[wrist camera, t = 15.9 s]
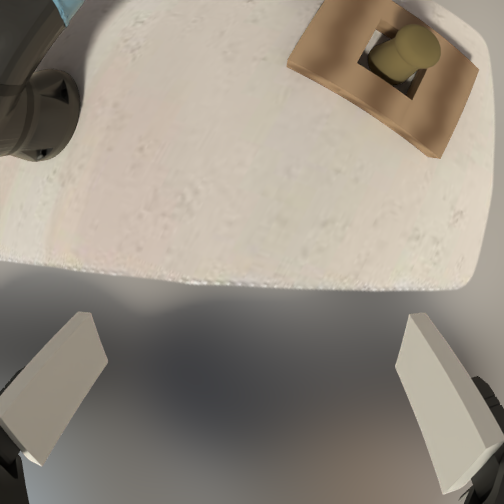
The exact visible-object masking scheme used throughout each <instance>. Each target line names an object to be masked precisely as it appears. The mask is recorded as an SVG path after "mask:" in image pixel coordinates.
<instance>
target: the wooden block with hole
mask: <svg viewBox="0 0 504 504" xmlns="http://www.w3.org/2000/svg"><path fill="white" fill-rule="evenodd" d="M409 24H417V25H420V26H423V27H425V28H427V29H428V30H430V31H431V32H432V33H433V34H434V35H435V36H436V38H437V39H438V41H439V44H440V47H441V56H440V59H439V61H438V62H437V63H436V64H435V65H434V66H432V67H430V68H427V69H420V68H419V69H418V71H417V73H416V75H415V77H414V79H413V81H412V83H411V85H410V87H409V89H408V91H407V93H406V95H404V94H403V93H401V92H400V91H399V90H397V89H396V88H394V87H393V86H392V85H390V84H389V83H387V82H386V81H384V80H383V79H381V78H380V77H378V76H377V75H375V74H374V73H372V72H371V71H369V70H367V69H366V68H364V67H363V66H361V65H359V64H358V63H357V62H358V60H359V58H360V56H361V54H362V53H363V51H364V49H365V47H366V45H367V44H368V42H369V40H370V38H371V37H372V35H373V33H374V31H375V29H376V30H378V31H379V32H381V33H383V34H384V35H386V36H387V37H389V38H390V39H393V38H395V37H396V34H397V32H398V31H399V30H400V29H401V28H402V27H403V26H406V25H409ZM287 67H288V68H290V69H292V70H294V71H296V72H298V73H300V74H302V75H304V76H306V77H308V78H309V79H311V80H313V81H315V82H317V83H319V84H321V85H322V86H324V87H326V88H328V89H330V90H331V91H333V92H335V93H337V94H338V95H340V96H342V97H343V98H345V99H347V100H348V101H350V102H352V103H353V104H355V105H356V106H358V107H359V108H361V109H363V110H364V111H366V112H367V113H369V114H370V115H372V116H373V117H375V118H376V119H378V120H379V121H381V122H382V123H384V124H385V125H386V126H388V127H389V128H391V129H392V130H394V131H395V132H396V133H398V134H399V135H400V136H402V137H403V138H404V139H406V140H407V141H408V142H410V143H411V144H412V145H414V146H415V147H416V148H417V149H419V150H420V151H421V152H422V153H424V154H425V155H426V156H427V157H432V158H439V159H440V158H441V156H442V154H443V152H444V150H445V148H446V146H447V144H448V142H449V140H450V138H451V136H452V134H453V131H454V129H455V127H456V125H457V123H458V120H459V118H460V116H461V114H462V111H463V109H464V107H465V104H466V102H467V100H468V97H469V95H470V92H471V90H472V87H473V84H474V82H475V79H476V77H477V74H478V71H479V69H478V68H477V67H476V66H475V65H474V64H473V63H472V62H471V61H470V60H469V59H468V58H466V57H465V56H464V55H463V54H462V53H461V52H460V51H459V50H458V49H456V48H455V47H454V46H453V45H452V44H451V43H449V42H448V41H447V40H446V39H445V38H443V37H442V36H441V35H440V34H438V33H437V32H436V31H435V30H433V29H432V28H431V27H429V26H428V25H427V24H425V23H424V22H423V21H421V20H420V19H418V18H417V17H416V16H414V15H413V14H411V13H410V12H408V11H407V10H405V9H404V8H402V7H401V6H399V5H398V4H396V3H395V2H393V1H391V0H325V1H324V2H323V4H322V5H321V7H320V8H319V10H318V11H317V13H316V15H315V16H314V18H313V19H312V21H311V22H310V24H309V26H308V27H307V29H306V30H305V32H304V34H303V35H302V37H301V38H300V40H299V42H298V43H297V45H296V47H295V48H294V50H293V51H292V53H291V55H290V56H289V58H288V61H287Z"/></svg>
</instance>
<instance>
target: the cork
mask: <svg viewBox="0 0 504 504" xmlns="http://www.w3.org/2000/svg"><path fill="white" fill-rule="evenodd" d="M440 56H441V47H440V44H439V41H438V39H437V38H436V36H435V35H434V34H433V33H432V32H431V31H430V30H428V29H427V28H425V27H423V26H420V25H417V24H409V25H406V26H403V27H402V28H401V29H400V30H399V31H398V32H397V34H396V37H395V38H393V39H391V40H389V41H387V42H384V43H382V44H380V45H378V46H375V47H374V48H373V49H372V50H371V51H370V53H369V55H368V64H369V68H370V70H371V71H372V73H374V74H375V75H377V76H378V77H380V78H381V79H383V80H384V81H386V82H387V83H389V84H390V85H399V84H401V83H403V82H404V81H406V80H407V79H408V78H409V77H410V76H411V75H412V74H414V73H415V72H416V71H417V70H418V69H419V68H420V69H427V68H430V67H432V66H434V65H435V64H436V63H437V62H438V61H439V59H440Z"/></svg>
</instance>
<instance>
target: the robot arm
mask: <svg viewBox="0 0 504 504" xmlns="http://www.w3.org/2000/svg"><path fill="white" fill-rule="evenodd" d="M84 1H85V0H0V157H1V156H7V155H11V156H14V157H18V158H21V159H24V160H27V161H32V162H38V161H44V160H48V159H51V158H53V157H55V156H56V155H58V154H59V153H60V152H61V151H62V150H63V149H64V148H65V146H66V145H67V144H68V142H69V140H70V139H71V137H72V135H73V133H74V130H75V127H76V124H77V121H78V116H79V107H80V100H79V92H78V88H77V86H76V83H75V81H74V80H73V78H72V77H71V76H70V75H69V74H67V73H66V72H63V71H59V70H55V69H44V70H40V71H37V72H34V71H35V69H36V68H37V66H38V65H39V63H40V62H41V60H42V59H43V57H44V56H45V54H46V53H47V51H48V50H49V49H50V47H51V46H52V44H53V43H54V42H55V40H56V39H57V38H58V36H59V35H60V34H61V32H62V31H63V30H64V28H65V27H66V28H67V26H68V25H69V21H70V20H71V19H72V17H73V16H74V15H75V13H76V12H77V11H78V9H79V8H80V7H81V6H82V4H83V3H84ZM107 363H108V360H107V357H106V354H105V352H104V349H103V346H102V344H101V341H100V338H99V336H98V332H97V330H96V327H95V324H94V321H93V318H92V315H91V313H86V312H77V313H76V314H75V315H74V316H73V317H72V318H71V319H70V320H69V322H67V323H66V324H65V325H64V327H62V328H61V330H60V331H59V332H58V333H57V334H56V335H55V336H54V337H53V338H52V339H51V340H50V341H49V342H48V343H47V344H46V345H45V346H44V347H43V348H42V350H40V351H39V353H38V354H37V355H36V356H35V357H34V358H33V359H32V360H31V361H30V362H29V364H28V365H27V366H25V367H24V368H22V369H21V370H19V371H18V372H17V373H16V374H15V375H14V376H13V377H12V378H11V380H10V381H9V382H8V383H7V384H6V385H5V388H3V389H2V390H1V391H0V504H29V500H28V495H27V490H26V485H25V479H24V473H23V466H22V460H21V457H20V456H19V455H18V453H19V452H20V450H21V451H22V452H23V454H24V455H25V456H26V457H27V458H28V459H29V460H31V461H32V462H34V463H36V464H38V465H40V466H43V465H44V463H45V461H46V460H47V457H48V456H49V454H50V453H51V451H52V449H53V448H54V446H55V444H56V442H57V441H58V439H59V437H60V436H61V434H62V433H63V431H64V429H65V428H66V426H67V424H68V423H69V421H70V420H71V418H72V416H73V415H74V413H75V412H76V410H77V408H78V407H79V405H80V404H81V402H82V400H83V399H84V398H85V396H86V395H87V393H88V391H89V390H90V388H91V387H92V385H93V384H94V382H95V381H96V379H97V378H98V376H99V375H100V373H101V372H102V370H103V369H104V367H105V366H106V364H107ZM395 368H396V370H397V372H398V375H399V376H400V379H401V382H402V384H403V386H404V389H405V391H406V393H407V395H408V398H409V401H410V403H411V405H412V408H413V411H414V413H415V416H416V418H417V421H418V424H419V426H420V429H421V431H422V434H423V437H424V440H425V442H426V445H427V448H428V451H429V454H430V457H431V459H432V462H433V465H434V468H435V471H436V475H437V478H438V480H439V484H440V487H441V490H442V494H443V495H444V494H447V493H449V492H452V491H455V490H457V489H460V488H462V487H463V486H464V485H465V484H466V483H467V482H468V481H469V480H470V479H471V480H472V483H473V486H471V487H470V489H468V490H467V491H466V492H465V493H464V494H463V495H462V496H461V497H460V499H459V501H462V500H463V499H464V498H465V497H466V496H467V497H466V500H465V502H464V504H504V409H503V407H502V405H500V402H499V400H498V399H497V397H495V394H494V392H493V391H492V389H491V388H490V386H489V385H488V384H487V383H486V382H485V381H483V380H482V379H481V378H480V377H478V376H477V377H473V378H470V376H469V375H468V373H467V372H466V370H465V368H464V367H463V365H462V364H461V362H460V361H459V359H458V358H457V356H456V355H455V353H454V352H453V350H452V349H451V348H450V346H449V345H448V343H447V342H446V340H445V339H444V338H443V336H442V335H441V333H440V332H439V331H438V329H437V328H436V326H435V325H434V324H433V322H432V321H431V320H430V318H429V317H428V315H427V314H426V313H417V314H409V317H408V322H407V326H406V330H405V334H404V337H403V342H402V345H401V349H400V352H399V356H398V359H397V363H396V366H395Z"/></svg>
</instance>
